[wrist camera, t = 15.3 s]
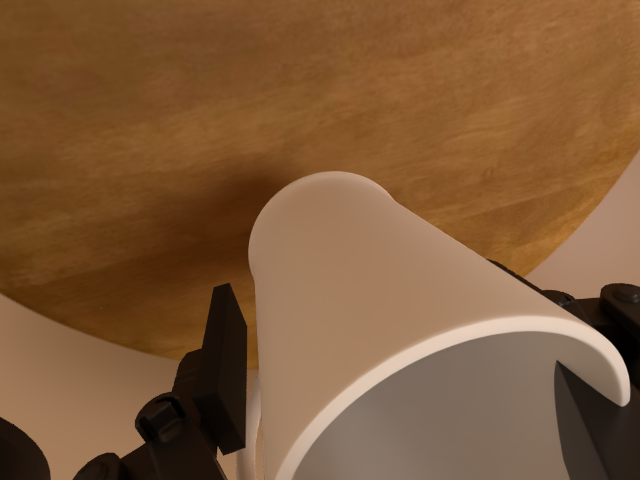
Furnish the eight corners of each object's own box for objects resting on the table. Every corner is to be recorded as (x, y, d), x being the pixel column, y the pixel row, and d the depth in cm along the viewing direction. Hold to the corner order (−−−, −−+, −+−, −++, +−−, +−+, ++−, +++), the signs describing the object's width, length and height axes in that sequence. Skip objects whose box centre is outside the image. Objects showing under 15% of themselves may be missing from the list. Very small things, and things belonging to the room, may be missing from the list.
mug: (286, 375, 20) (333, 688, 9) (169, 299, 17) (27, 653, 6) (431, 245, 19) (684, 434, 8) (335, 132, 15) (550, 195, 5)
